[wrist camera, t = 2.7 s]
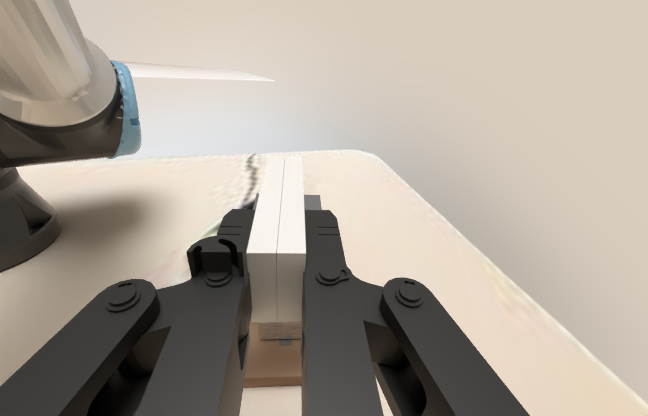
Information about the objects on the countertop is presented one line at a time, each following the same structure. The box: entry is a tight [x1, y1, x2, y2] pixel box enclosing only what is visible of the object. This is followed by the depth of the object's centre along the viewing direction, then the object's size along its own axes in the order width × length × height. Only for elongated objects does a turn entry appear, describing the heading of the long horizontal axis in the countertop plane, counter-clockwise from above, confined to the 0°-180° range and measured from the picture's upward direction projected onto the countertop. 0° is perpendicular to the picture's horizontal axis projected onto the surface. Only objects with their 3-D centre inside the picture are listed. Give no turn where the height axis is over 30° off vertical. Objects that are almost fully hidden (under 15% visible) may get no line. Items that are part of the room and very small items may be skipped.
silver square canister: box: [253, 194, 322, 339], centre depth 28 cm, size 6×6×13 cm
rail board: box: [243, 319, 302, 387], centre depth 39 cm, size 28×10×2 cm, turn 4°
